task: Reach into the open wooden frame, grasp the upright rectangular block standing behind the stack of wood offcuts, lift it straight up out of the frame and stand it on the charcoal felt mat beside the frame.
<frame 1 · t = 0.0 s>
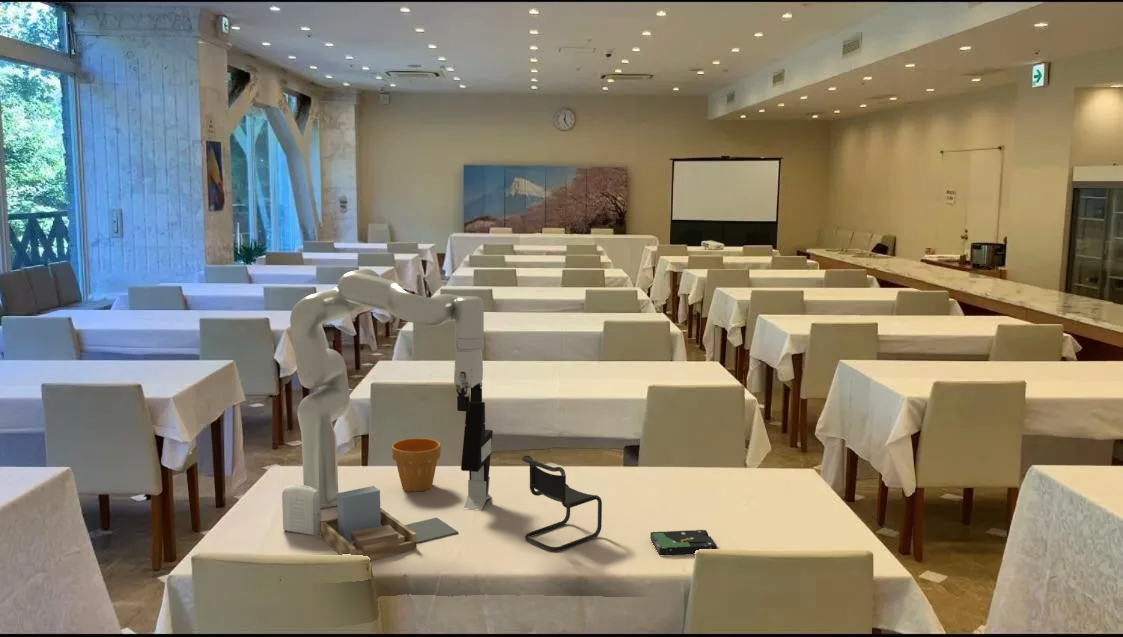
hand: (469, 406, 248), 31 cm above the table, tool pointing down, fingers open, 9 cm apart
white rounded tombstone: (302, 531, 243), on the table
wooden frame: (367, 542, 236), on the table
flower pot: (417, 487, 277), on the table
award: (477, 504, 264), on the table
chair: (561, 537, 241), on the table
disk drive: (682, 549, 236), on the table
rectangular block: (359, 536, 240), resting in wooden frame
mat: (427, 530, 244), on the table
offcut stack: (376, 549, 232), resting in wooden frame
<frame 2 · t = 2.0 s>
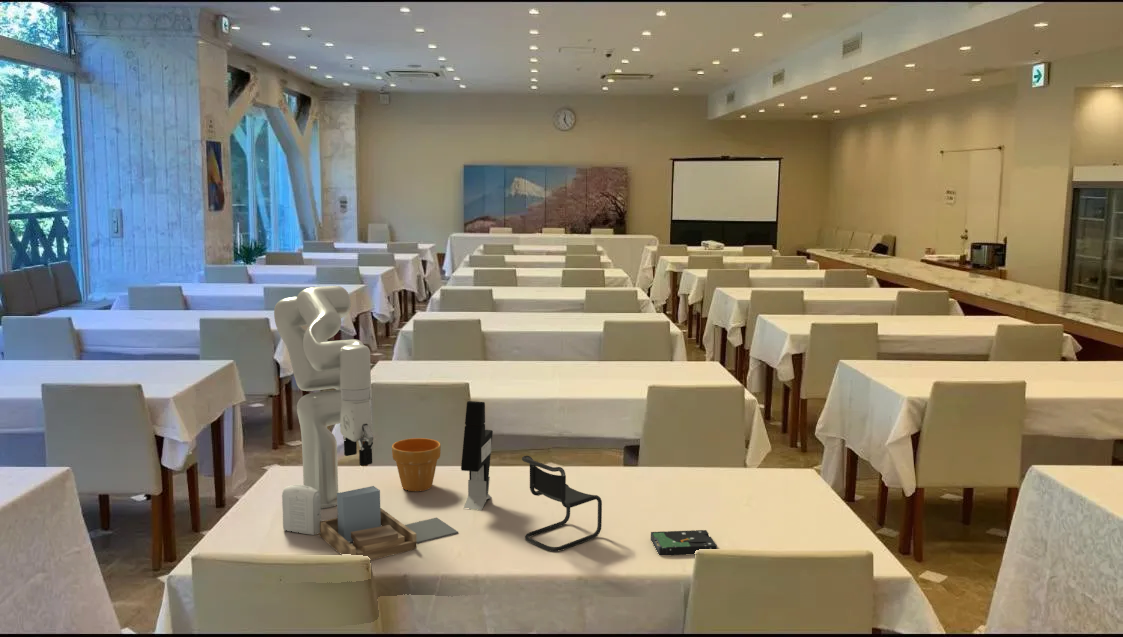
hand: (358, 459, 237), 21 cm above the table, tool pointing down, fingers open, 9 cm apart
nothing on the table moved.
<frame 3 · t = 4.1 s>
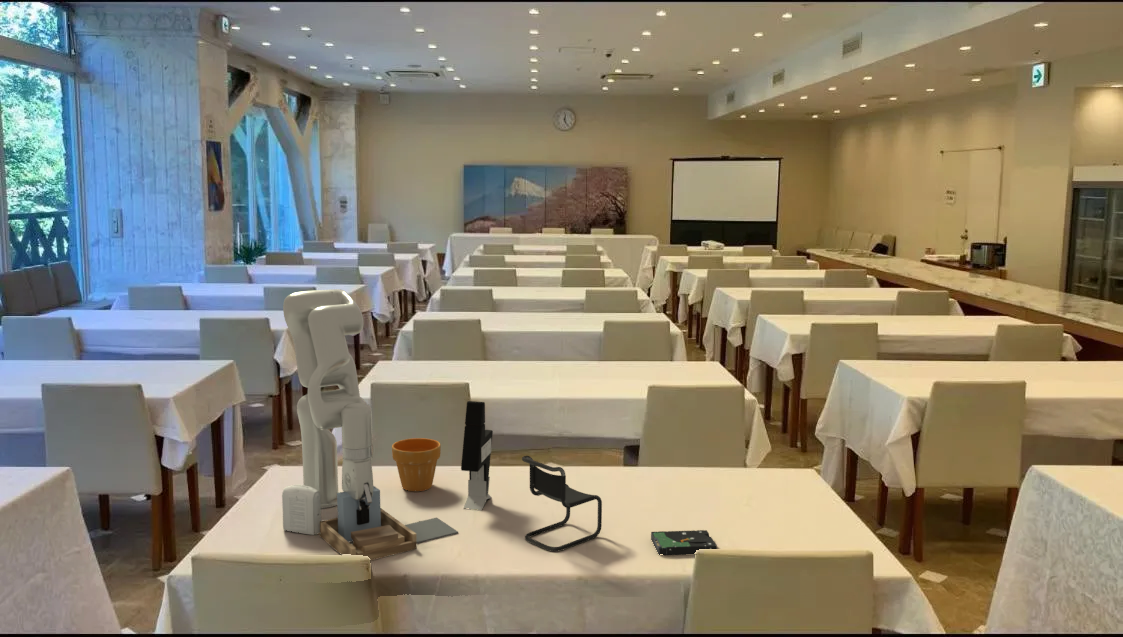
hand: (359, 520, 239), 4 cm above the table, tool pointing down, fingers closed on rectangular block, 4 cm apart
rectangular block: (359, 536, 240), resting in wooden frame, touching gripper
everything else where it was.
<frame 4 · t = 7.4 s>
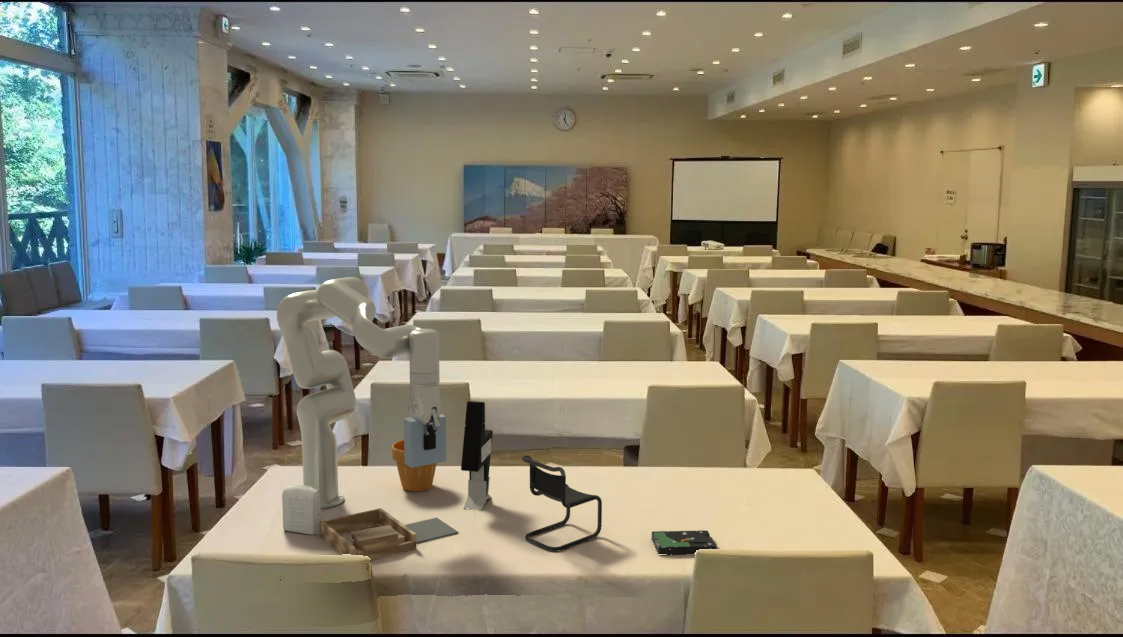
hand: (425, 446, 240), 23 cm above the table, tool pointing down, fingers closed on rectangular block, 4 cm apart
rectangular block: (425, 462, 241), point 19 cm above the table, touching gripper
everything else where it was.
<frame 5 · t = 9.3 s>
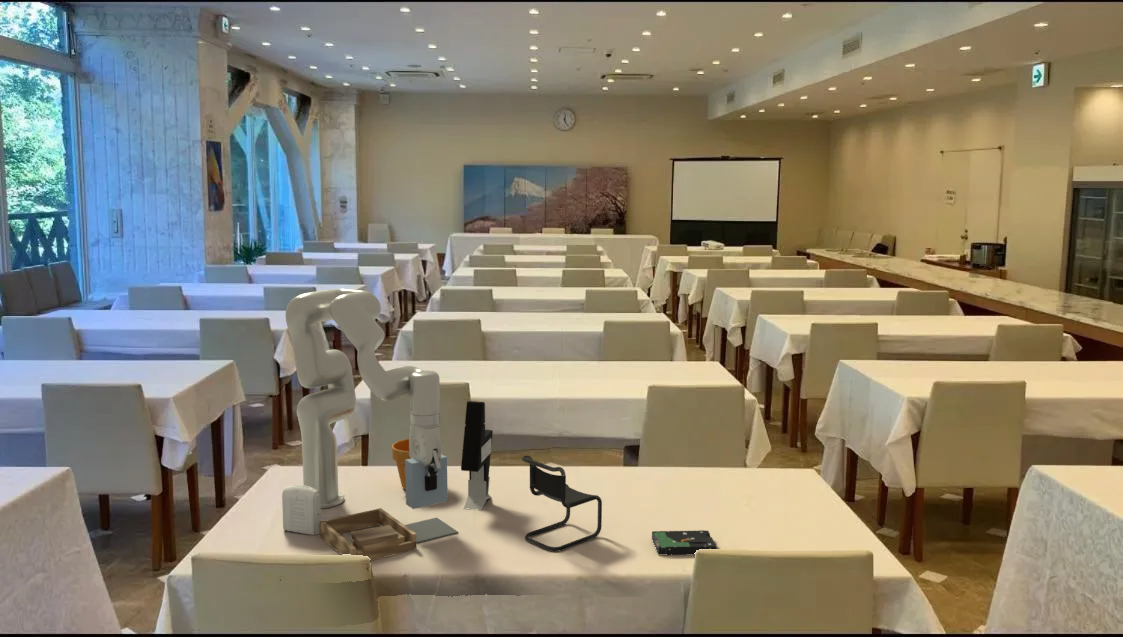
hand: (426, 486, 242), 12 cm above the table, tool pointing down, fingers closed on rectangular block, 4 cm apart
rectangular block: (427, 502, 243), point 8 cm above the table, touching gripper
everything else where it was.
when the fingers open (6 cm above the table, at t = 10.9 s): rectangular block stays where it is, resting on mat.
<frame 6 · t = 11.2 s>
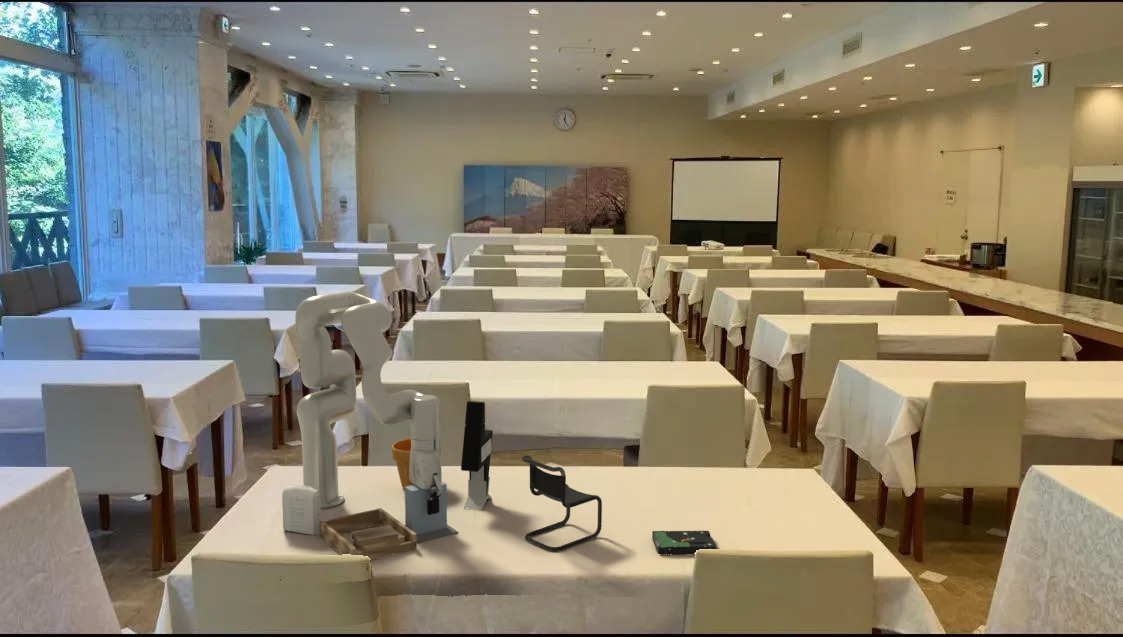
hand: (426, 508, 243), 6 cm above the table, tool pointing down, fingers open, 6 cm apart
rectangular block: (426, 529, 244), resting on mat
everything else where it was.
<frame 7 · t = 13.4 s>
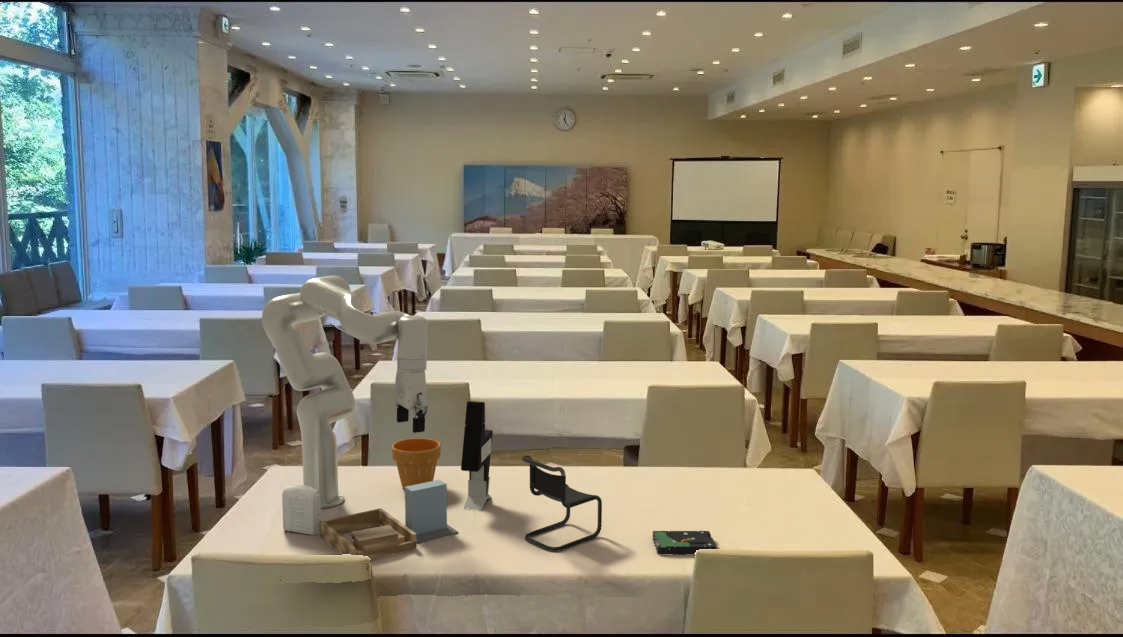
hand: (410, 426, 245), 27 cm above the table, tool pointing down, fingers open, 9 cm apart
nothing on the table moved.
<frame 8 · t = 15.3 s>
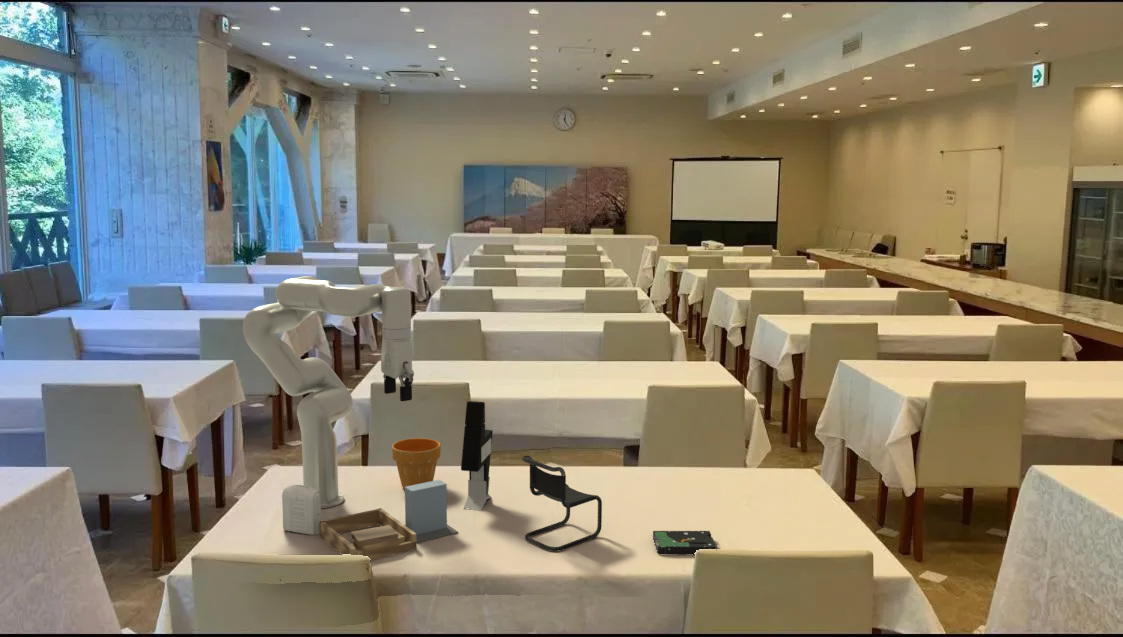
hand: (398, 396, 249), 33 cm above the table, tool pointing down, fingers open, 9 cm apart
nothing on the table moved.
at the end: rectangular block inside the target area on the mat (0.2 cm from its centre), point 0.4 cm above the mat's base; rectangular block tilted 0°; rectangular block moved 17.1 cm from its start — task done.
